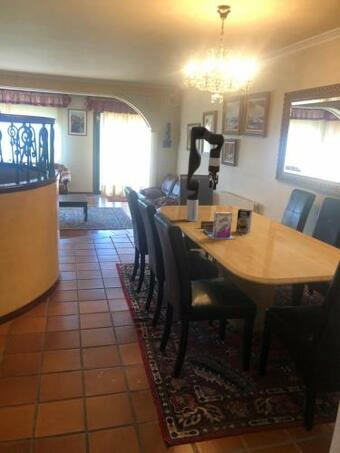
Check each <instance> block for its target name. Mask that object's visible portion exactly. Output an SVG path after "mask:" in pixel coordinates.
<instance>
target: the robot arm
mask: <svg viewBox="0 0 340 453" xmlns="http://www.w3.org/2000/svg"><path fill="white" fill-rule="evenodd" d="M197 140H204V141H206V142H207V143H208V144H209V145H211V146H212V145H213V146H216V147H214V148H211V149H210V150H209V160H208V169H207V170H208V171H207V172H208V177H207V178H208V179H207V181H208V188H209V189H212V191H216V190H217V185H218V184H219V174H218V173H219V172H220V171H221V170H220V167H221V152H222V149H223V146H224V144H225V140H226V139H225V135H224V134H221V133H215V132H213V131H210V130H209V129H208V128H207V127H205V126H202V125H201V126H193V127H192V128H191V130H190V144H189V145H190V146H189V156H188V167H187V168H188V169H187V174H186V181H185V182H186V183H185V189H186V191H190V192H193V193H191V194H188V195H187V196H186V210H185V221H187V222H192V223H193V222H198V215H199V214H198V213H199V200H200V198H199V197H200V189H201V181H200V179H196V178H195V179H194V178H193V175H194V174H195V172H196V171H197V170H198V169H199V168H200V166H201V164H202V155H201V152H200V151H199V148H198V147H197Z"/></svg>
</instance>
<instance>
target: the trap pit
mask: <svg viewBox="0 0 340 453" xmlns="http://www.w3.org/2000/svg"><path fill="white" fill-rule="evenodd" d="M203 233H204V234H205V235H207V236H208V235H213V230H209V229H204V228H203Z"/></svg>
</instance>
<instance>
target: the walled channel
mask: <svg viewBox="0 0 340 453" xmlns="http://www.w3.org/2000/svg"><path fill="white" fill-rule="evenodd" d="M213 224H214V220H201V221H200V229H203V230H204V229H209V230H213Z"/></svg>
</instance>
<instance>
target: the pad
mask: <svg viewBox="0 0 340 453" xmlns="http://www.w3.org/2000/svg"><path fill="white" fill-rule="evenodd" d="M207 237H209V238H210V239H211V240H235V239H236V238H235V237H234V236H233V235H231V234H230V237H214V236H213V235H207Z"/></svg>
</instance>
